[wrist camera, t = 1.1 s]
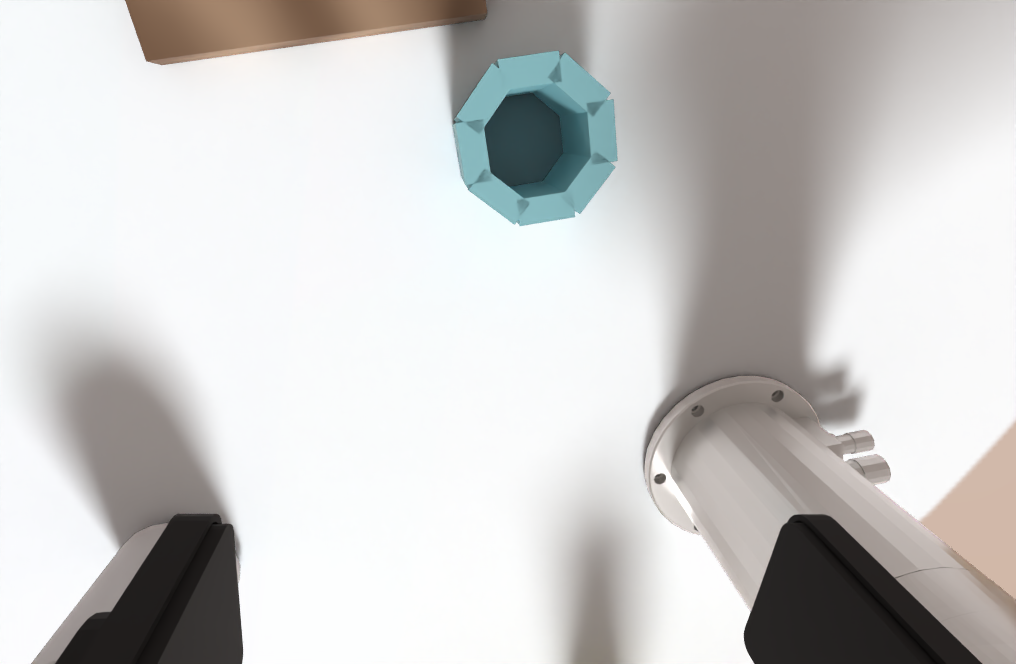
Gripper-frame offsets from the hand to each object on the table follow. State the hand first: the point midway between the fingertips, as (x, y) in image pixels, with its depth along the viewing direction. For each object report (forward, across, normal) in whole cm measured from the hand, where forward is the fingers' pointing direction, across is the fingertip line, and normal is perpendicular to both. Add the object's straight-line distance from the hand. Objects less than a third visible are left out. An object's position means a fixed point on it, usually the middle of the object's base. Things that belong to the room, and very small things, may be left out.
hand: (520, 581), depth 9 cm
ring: (+24, -3, -7) cm, 25 cm away
